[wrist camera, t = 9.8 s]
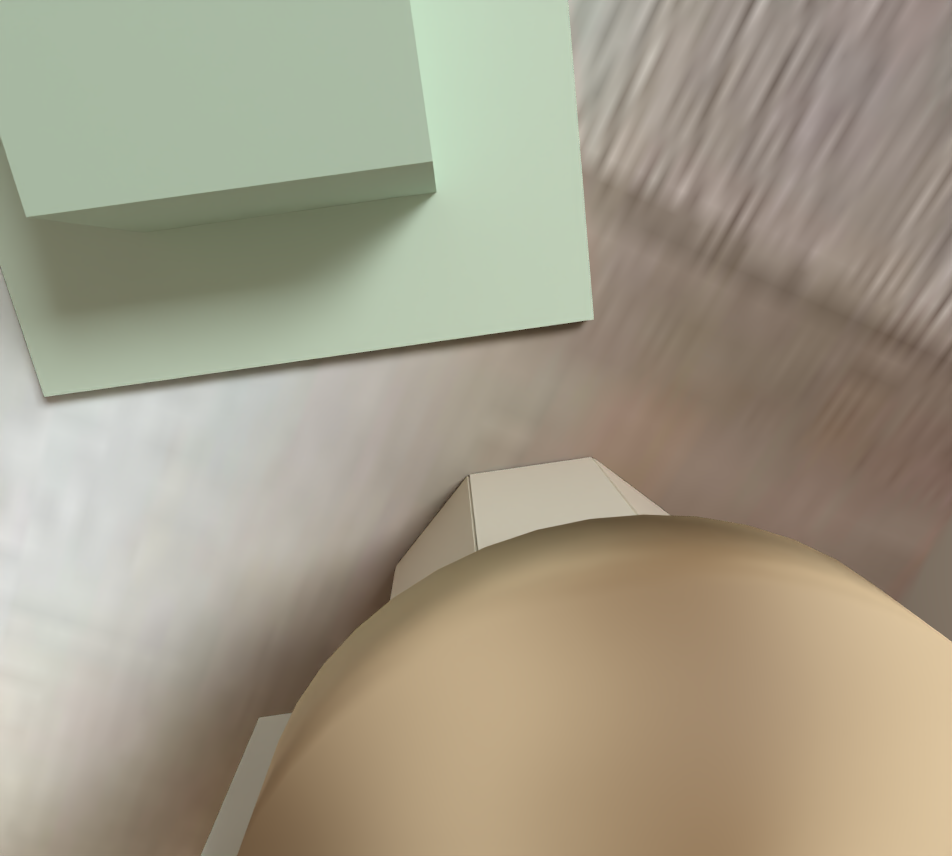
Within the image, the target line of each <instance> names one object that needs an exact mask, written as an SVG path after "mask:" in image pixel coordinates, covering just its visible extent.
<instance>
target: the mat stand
mask: <svg viewBox="0 0 952 856" xmlns="http://www.w3.org/2000/svg"><path fill="white" fill-rule="evenodd" d="M0 267H1V270H2V273H3V276H4V279H5V282H6V285H7V288H8V291H9V294H10V297H11V300H12V303H13V306H14V308H15V311H16V314H17V317H18V320H19V323H20V326H21V329H22V332H23V335H24V338H25V341H26V344H27V347H28V350H29V353H30V356H31V359H32V362H33V365H34V368H35V371H36V374H37V377H38V380H39V383H40V386H41V389H42V392H43V395H44V397H48V396H55V395H62V394H69V393H76V392H83V391H91V390H98V389H105V388H112V387H119V386H126V385H133V384H140V383H147V382H154V381H161V380H168V379H175V378H183V377H190V376H197V375H204V374H211V373H218V372H225V371H232V370H239V369H246V368H253V367H260V366H267V365H274V364H282V363H289V362H296V361H303V360H310V359H317V358H324V357H331V356H338V355H345V354H352V353H359V352H366V351H374V350H381V349H388V348H395V347H402V346H409V345H416V344H423V343H430V342H437V341H444V340H451V339H458V338H465V337H473V336H480V335H487V334H494V333H501V332H508V331H515V330H522V329H529V328H536V327H543V326H550V325H557V324H565V323H572V322H579V321H586V320H593V319H594V316H593V303H592V291H591V279H590V266H589V254H588V242H587V229H586V217H585V204H584V192H583V180H582V167H581V155H580V143H579V130H578V118H577V106H576V93H575V81H574V69H573V56H572V44H571V31H570V19H569V7H568V0H0Z"/></svg>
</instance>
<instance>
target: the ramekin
mask: <svg viewBox="0 0 952 856" xmlns="http://www.w3.org/2000/svg"><path fill="white" fill-rule="evenodd" d="M643 514H645V515H669V514H668V513H666V512H665V511H664V510H662V509H661V508H660V507H658V506H657V505H656V504H654V503H653V502H652V501H650V500H649V499H648V498H646V497H645V496H644V495H642V494H641V493H640V492H638V491H637V490H636V489H634V488H633V487H632V486H630V485H629V484H628V483H626V482H625V481H624V480H622V479H621V478H620V477H618V476H617V475H616V474H614V473H613V472H612V471H610V470H609V469H608V468H606V467H605V466H604V465H602V464H601V463H600V462H598V461H597V460H596V459H594V458H593V459H592V458H591V457H588V458H581V459H574V460H567V461H560V462H553V463H547V464H540V465H533V466H526V467H519V468H512V469H505V470H498V471H491V472H484V473H477V474H470V477H468V476H467V477H466V478H465V479H464V481H463V482H462V483H461V485H460V486H459V487H458V488H457V490H456V491H455V492H454V493H453V495H452V496H451V497H450V498H449V500H448V501H447V502H446V504H445V505H444V506H443V507H442V509H441V510H440V511H439V512H438V514H437V515H436V516H435V517H434V519H433V520H432V521H431V522H430V524H429V525H428V526H427V528H426V529H425V530H424V531H423V533H422V534H421V535H420V536H419V538H418V539H417V540H416V541H415V543H414V544H413V545H412V546H411V548H410V549H409V550H408V552H407V553H406V554H405V555H404V557H403V558H402V559H401V560H400V562H399V563H398V564H397V565H396V568H395V574H394V580H393V586H392V591H391V597H390V600H391V599H393V598H394V597H396V596H397V595H399V594H400V593H402V592H403V591H405V590H406V589H408V588H410V587H411V586H413V585H414V584H416V583H417V582H419V581H421V580H422V579H424V578H425V577H427V576H428V575H430V574H432V573H433V572H435V571H436V570H438V569H440V568H442V567H444V566H447V565H449V564H451V563H453V562H455V561H457V560H459V559H461V558H463V557H465V556H468V555H470V554H472V553H474V552H476V551H478V550H480V549H482V548H484V547H487V546H490V545H493V544H496V543H499V542H502V541H505V540H508V539H511V538H514V537H517V536H520V535H523V534H526V533H529V532H532V531H535V530H538V529H543V528H548V527H553V526H558V525H563V524H568V523H572V522H577V521H582V520H587V519H595V518H607V517H619V516H631V515H643Z"/></svg>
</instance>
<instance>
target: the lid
mask: <svg viewBox="0 0 952 856" xmlns="http://www.w3.org/2000/svg"><path fill="white" fill-rule="evenodd" d="M237 856H952V642H951V641H949V639H947V638H946V637H944V636H943V635H942V634H940V633H939V632H937V631H936V630H935V629H933V628H932V627H931V626H929V625H928V624H926V623H925V622H924V621H922V620H921V619H920V618H918V617H917V616H916V615H914V614H913V613H912V612H910V611H909V610H908V609H906V608H905V607H903V606H902V605H901V604H899V603H898V602H897V601H895V600H894V599H892V598H891V597H890V596H888V595H887V594H886V593H884V592H883V591H882V590H880V589H879V588H877V587H876V586H875V585H873V584H872V583H870V582H869V581H867V580H866V579H864V578H863V577H861V576H860V575H858V574H857V573H855V572H854V571H852V570H851V569H850V568H848V567H847V566H845V565H844V564H842V563H841V562H839V561H838V560H836V559H834V558H832V557H830V556H827V555H825V554H823V553H821V552H819V551H817V550H815V549H813V548H811V547H808V546H806V545H804V544H802V543H800V542H798V541H796V540H793V539H790V538H787V537H784V536H781V535H777V534H774V533H771V532H768V531H764V530H761V529H758V528H755V527H752V526H748V525H743V524H738V523H732V522H726V521H720V520H714V519H708V518H702V517H695V516H670V515H645V514H643V515H631V516H619V517H607V518H595V519H587V520H582V521H577V522H572V523H568V524H563V525H558V526H553V527H548V528H543V529H538V530H535V531H532V532H529V533H526V534H523V535H520V536H517V537H514V538H511V539H508V540H505V541H502V542H499V543H496V544H493V545H490V546H487V547H484V548H482V549H480V550H478V551H476V552H474V553H472V554H470V555H468V556H465V557H463V558H461V559H459V560H457V561H455V562H453V563H451V564H449V565H447V566H444V567H442V568H440V569H438V570H436V571H435V572H433V573H432V574H430V575H428V576H427V577H425V578H424V579H422V580H421V581H419V582H417V583H416V584H414V585H413V586H411V587H410V588H408V589H406V590H405V591H403V592H402V593H400V594H399V595H397V596H396V597H394V598H393V599H391V600H390V601H389V602H388V603H387V604H385V605H384V606H383V607H382V608H381V609H379V610H378V611H377V612H376V613H375V614H373V615H372V616H371V617H370V618H369V619H367V620H366V621H365V622H364V623H363V624H361V625H360V626H359V627H358V628H357V629H355V630H354V632H353V633H352V634H351V635H350V636H349V637H348V638H347V639H346V640H345V641H344V642H343V644H342V645H341V646H340V647H339V648H338V649H337V650H336V651H335V652H334V653H333V655H332V656H331V657H330V658H329V659H328V660H327V661H326V662H325V663H324V664H323V666H322V667H321V668H320V670H319V671H318V673H317V674H316V676H315V677H314V679H313V680H312V682H311V683H310V685H309V686H308V687H307V689H306V690H305V692H304V693H303V695H302V696H301V698H300V699H299V701H298V702H297V704H296V706H295V708H294V710H293V712H292V714H291V716H290V718H289V721H288V723H287V725H286V727H285V729H284V731H283V733H282V735H281V737H280V739H279V741H278V744H277V747H276V750H275V752H274V755H273V758H272V761H271V763H270V766H269V769H268V772H267V774H266V777H265V780H264V783H263V785H262V788H261V791H260V794H259V796H258V799H257V802H256V805H255V807H254V810H253V813H252V816H251V818H250V821H249V824H248V827H247V830H246V832H245V835H244V838H243V841H242V843H241V846H240V849H239V852H238V854H237Z"/></svg>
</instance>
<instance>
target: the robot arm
mask: <svg viewBox="0 0 952 856" xmlns="http://www.w3.org/2000/svg"><path fill="white" fill-rule="evenodd" d="M291 714H292V713H287V714H280V715H273V716H267V717H260V718H259V719H258V721H257V724H256V726H255V728H254V731H253V733H252V735H251V738H250V740H249V743H248V745H247V747H246V750H245V752H244V754H243V757H242V759H241V761H240V764H239V766H238V768H237V771H236V773H235V776H234V778H233V780H232V783H231V785H230V787H229V790H228V792H227V794H226V797H225V799H224V802H223V804H222V806H221V809H220V811H219V813H218V816H217V818H216V820H215V823H214V825H213V828H212V830H211V832H210V835H209V837H208V839H207V842H206V844H205V846H204V849H203V851H202V853H201V856H237V854H238V852H239V849H240V846H241V843H242V841H243V838H244V835H245V832H246V830H247V827H248V824H249V821H250V818H251V816H252V813H253V810H254V807H255V805H256V802H257V799H258V796H259V794H260V791H261V788H262V785H263V783H264V780H265V777H266V774H267V772H268V769H269V766H270V763H271V761H272V758H273V755H274V752H275V750H276V747H277V744H278V741H279V739H280V737H281V735H282V733H283V731H284V729H285V727H286V725H287V723H288V721H289V718H290V716H291Z"/></svg>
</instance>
